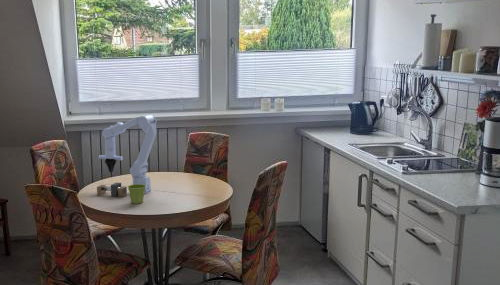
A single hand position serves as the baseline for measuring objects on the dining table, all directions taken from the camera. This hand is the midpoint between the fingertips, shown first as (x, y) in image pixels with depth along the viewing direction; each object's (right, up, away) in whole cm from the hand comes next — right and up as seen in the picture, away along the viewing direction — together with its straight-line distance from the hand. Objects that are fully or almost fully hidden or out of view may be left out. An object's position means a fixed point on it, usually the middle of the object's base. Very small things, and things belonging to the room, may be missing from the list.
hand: (111, 171), depth 301 cm
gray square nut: (+6, -12, -12) cm, 18 cm away
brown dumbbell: (+4, -12, -12) cm, 17 cm away
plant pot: (+20, -15, -25) cm, 36 cm away
